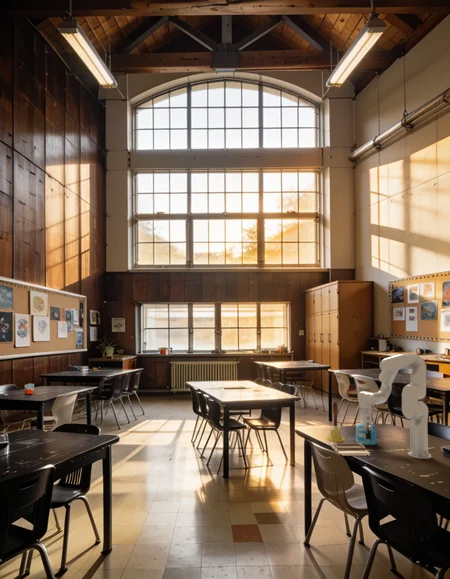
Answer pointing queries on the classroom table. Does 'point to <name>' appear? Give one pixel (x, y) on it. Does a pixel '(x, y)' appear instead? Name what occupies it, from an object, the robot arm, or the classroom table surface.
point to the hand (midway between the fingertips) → (365, 437)
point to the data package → (362, 435)
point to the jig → (350, 449)
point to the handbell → (335, 427)
